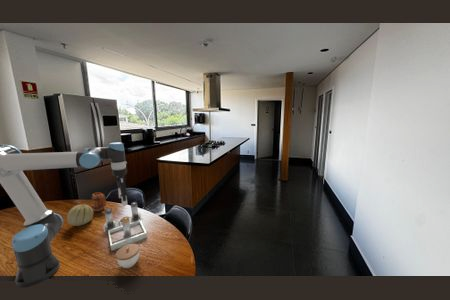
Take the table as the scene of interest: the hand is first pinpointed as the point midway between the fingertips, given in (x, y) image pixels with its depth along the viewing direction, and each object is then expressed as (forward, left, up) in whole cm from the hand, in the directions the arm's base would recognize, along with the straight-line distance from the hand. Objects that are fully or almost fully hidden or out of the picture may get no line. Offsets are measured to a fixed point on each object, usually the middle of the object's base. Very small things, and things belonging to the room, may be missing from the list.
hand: (123, 201), depth 112 cm
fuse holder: (+17, 0, -24) cm, 30 cm away
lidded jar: (-25, +3, -25) cm, 35 cm away
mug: (+50, +12, -25) cm, 57 cm away
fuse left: (+17, +8, -23) cm, 30 cm away
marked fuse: (0, 0, -24) cm, 24 cm away
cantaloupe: (+35, +24, -25) cm, 49 cm away
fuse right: (+17, -8, -23) cm, 30 cm away
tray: (0, 0, -24) cm, 24 cm away
